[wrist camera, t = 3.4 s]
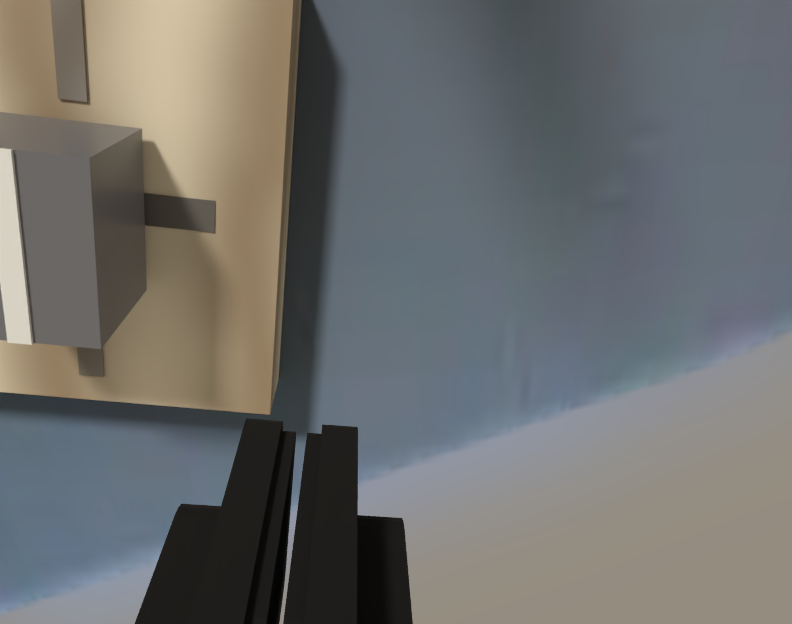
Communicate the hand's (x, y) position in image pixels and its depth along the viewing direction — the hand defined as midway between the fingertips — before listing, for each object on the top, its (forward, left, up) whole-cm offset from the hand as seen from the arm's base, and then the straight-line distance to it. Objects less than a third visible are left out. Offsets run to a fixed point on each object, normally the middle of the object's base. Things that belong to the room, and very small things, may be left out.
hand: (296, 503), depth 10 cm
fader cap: (+8, -1, -12) cm, 14 cm away
